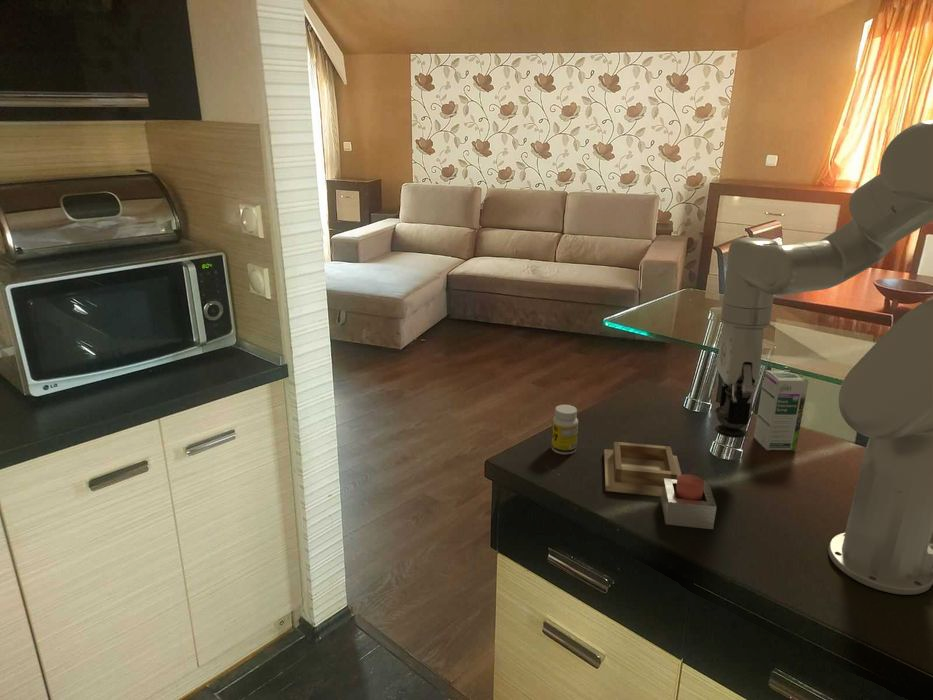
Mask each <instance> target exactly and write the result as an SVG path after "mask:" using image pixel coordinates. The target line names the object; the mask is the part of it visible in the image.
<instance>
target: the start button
mask: <svg viewBox="0 0 933 700" xmlns="http://www.w3.org/2000/svg"><path fill="white" fill-rule="evenodd" d="M704 482H705V481H704V479H702V478H701V477H699V476H697V475H695V474H689V473H688V474H685V473H683V474H681V475H680V476H679V477H678V478H677V485H676V493H675V497H676V499H685V500H695V501H702V496H703V489H704Z"/></svg>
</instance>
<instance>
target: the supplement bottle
mask: <svg viewBox="0 0 933 700" xmlns="http://www.w3.org/2000/svg"><path fill="white" fill-rule="evenodd" d="M554 410H555V411H554V416H553V418H552V426H551V427H552V428H551V443H550V444H551V446H550V447H551V450H552V451H553V452H555V453H556V454H559V455H570V454H571V455H572V454H573V453H575V452H577V445H578V433H579V432H578V431H579V430H578V429H579V419H578V418H577V416H578V409H577V407H575V406H574V405H570V404H560V405H557V406H556V407H555V409H554Z"/></svg>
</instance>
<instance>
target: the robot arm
mask: <svg viewBox="0 0 933 700" xmlns="http://www.w3.org/2000/svg"><path fill="white" fill-rule="evenodd" d="M879 165H880V167H879V170H880V171H879V174H877V175H875V176H874V177H873V178H871V179H870V180H869V181H867V182H865V183H864V184H862V185H861V186H860V187H857V189H855V191H854V192H853V193H852V194H851V195H850V198H849V201H848V210H849V215H850V217H851V218H852V219H850V220H849V221H848V222H847V223H845V224H844V225H843V226H841V227H840V228H838V229H836V230H835V231H833V232H832V233H830V234H829V235H828V236H825V237H824V238H822V239H819V240H815V241H806V242H805V241H803V242H802V241H801V242H795V243H794V242H793V243H787V244H786V243H785V244H779V243H778V242H777V241H775V240H773V239H770V238H764V237H763V238H762V237H740V238H736V239H734V240H733V241H731V242H730V245H729V247H728V254H727V260H726V261H727V264H726V273H725V281H724V288H723V289H724V290H723V298H722V304H721V305H722V306H721V313H720V323H722V324H723V326H722V331H721V337H720V343H719V348H718V355H717V361H716V370H717V372H718V373H719V375H720V377H721V379H722V386H721V392H720V400H719V407H721V406H724V404H725V402H726V395H727V393H726V392H725V390H726V389H727V388H728V385H730V384H732V400H730V401H729V410H728V418H727V421H728V423H730V424H745V425H746V424H747V425H748V423H749V422H748V419H749V411H750V412H751V402H752V394H753V391H754V389H753V387H755V386H757V384H758V382H759V379H760V378H759V377H760V371H761V364H762V363H761V362H762V356H763V342H764V329H765V328H768V327H770V324H771V320H772V319H771V318H772V314H773V313H772V312H773V303H774V297H775V296H789V295H795V294H796V295H797V294H801V293H806V292H809V293H810V292H816V291H823V290H824V291H825V290H827V289H832V288H833V287H837V286H839V285H840V284H843V283H845V282H847V281H848V280H850V279H852V278H853V277H855V276H857V275H859V274H860V273H862V272H865V271H866V270H868V269H870V268H871V267H872V266H874V265H876V264H878V263H879V262H880V261H881V260H882V259H884V258H885V257H886V256H887V254H888V253H890V252H891V251H892V250H893V248H894V247H895V245H896V244H897V243H898V242H899V241H900V240H902V239H904V238H906V237H908V236H909V235H911V234H913V233H914V232H916V231H918V230H920V229H921V228H923V227H924V226H927V225H928V224H930V223H931V222H933V119H929V120H928V119H927V120H924V121H920V122H917V123H915V124H912V125H910V126H909V127H907V128H904V130H902V131H901V132H899V133H898V134H897V135H895V137H893V139H892V140H891V141H889V144H888V145H887V146H886V147H885V150H884V152H883V154H882V156H881V160H880V164H879ZM737 380H742V384H740V383H736V381H737ZM737 387H742V390H739V392H738V393H737ZM838 407H839V412H840V414H841V416H842V418H843V420H844V422H845V423H846V424H847V425H848V426H849V427H850V429H852V430H853V431H854V432H856V433H858V434H859V435H862V436H864V437H867V438H868V441H867V443H866V447H865V451H864V453H863V454H864V455H863V458H862V461H861V462H862V463H861V466H860V469H859V474H858V479H857V482H856V486H855V490H854V495H853V498H852V502H851V508H850V512H849V515H848V520H847V524H846V528H845V532H843V533H839V534H837V535H835V536H834V537H832V539H830V541H829V544H828V545H829V546H828V548H827V549H828V555H829V558H830V560H831V561H832V563H833V564H834V565H835V566H836V567H837V568H838V569H839V570H841V572H843V574H845V575H847V576H848V577H850V578H851V579H853V580H855V581H857V582H858V583H861V584H862V585H865V586H867V587H870V588H872V589H874V590H878V591H881V592H886V593H889V594H896V595H904V596H905V595H910V596H911V595H919V594H922V593H924V592H927V591H928V590H929V589H930V588H931V587H932V586H933V543H931V538H932V535H933V298H932V299H929V300H926V301H924V302H922V303H920V304H918V305H916V306H915V307H913V308H912V309H910V310H909V311H908V312H906V313H905V314H903V316H901V317H900V318H899V319H898V320H897V321H896V322H895V323H893V325H892V326H891V327H890V328H889V329H888V330H887V331H886V332H885V333H884V334H883V335H882V337H881V338H880V339H878V341H877V342H876V343H875V344H874V345H873V346H872V347H871V348H870V349H869V350H867V352H866V353H865V354H864V355H863V356H862V357H861V358H860V359H859V360H858V361H857V362H856V363H855V365H854V366H853V367H852V368H851V369H850V370H849V372H848V373H847V374H846V376H845V377H844V378H843V379H842V383H841V385H840V388H839V392H838ZM749 420H750V419H749ZM747 425H746V426H747Z"/></svg>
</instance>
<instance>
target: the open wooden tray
mask: <svg viewBox="0 0 933 700" xmlns="http://www.w3.org/2000/svg"><path fill="white" fill-rule="evenodd" d="M671 447H672V446H668V445H667V446H666V445H657V444H655V445H654V444H646V443H645V444H643V443H633V442H632V443H631V442H622V441H613V449H607V448H605V449H603V450H604V451H603V462H604V491H605V492H614V493H615V492H616V493H622V494H623V493H624V494H632V495H633V494H634V495H635V494H636V495H644V496H653V497H662V489H663V481H664V478H665V479H675V480H677V478H678V477H679V476H680V475H682V472H681V467H680V463H679V459H678V456H677V455H674V454H673V451H672V448H671Z"/></svg>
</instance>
